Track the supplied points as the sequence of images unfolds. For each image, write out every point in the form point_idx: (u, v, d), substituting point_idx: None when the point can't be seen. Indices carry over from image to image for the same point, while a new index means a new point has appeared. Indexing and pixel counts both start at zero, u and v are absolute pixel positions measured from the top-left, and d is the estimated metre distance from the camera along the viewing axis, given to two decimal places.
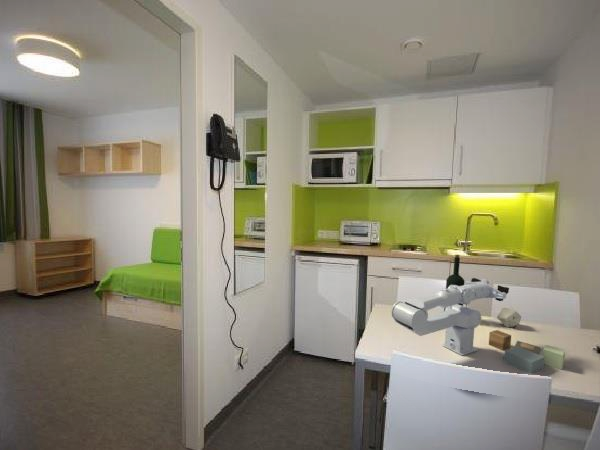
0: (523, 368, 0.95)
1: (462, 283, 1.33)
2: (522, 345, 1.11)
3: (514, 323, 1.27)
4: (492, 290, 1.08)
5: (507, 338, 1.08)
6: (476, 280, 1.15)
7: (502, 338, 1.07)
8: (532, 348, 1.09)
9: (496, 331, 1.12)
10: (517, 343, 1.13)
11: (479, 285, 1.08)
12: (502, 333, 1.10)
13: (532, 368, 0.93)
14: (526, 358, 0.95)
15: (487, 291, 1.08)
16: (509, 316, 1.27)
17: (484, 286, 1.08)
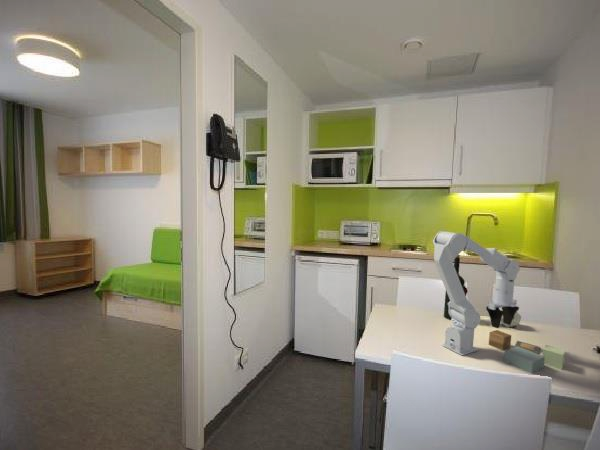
0: (523, 368, 0.95)
1: (462, 283, 1.33)
2: (522, 345, 1.11)
3: (514, 323, 1.27)
4: None
5: (507, 338, 1.08)
6: (515, 307, 1.09)
7: (502, 338, 1.07)
8: (532, 348, 1.09)
9: (496, 331, 1.12)
10: (517, 343, 1.13)
11: (509, 292, 1.06)
12: (502, 333, 1.10)
13: (532, 368, 0.93)
14: (526, 358, 0.95)
15: (500, 298, 1.07)
16: None
17: (507, 297, 1.06)
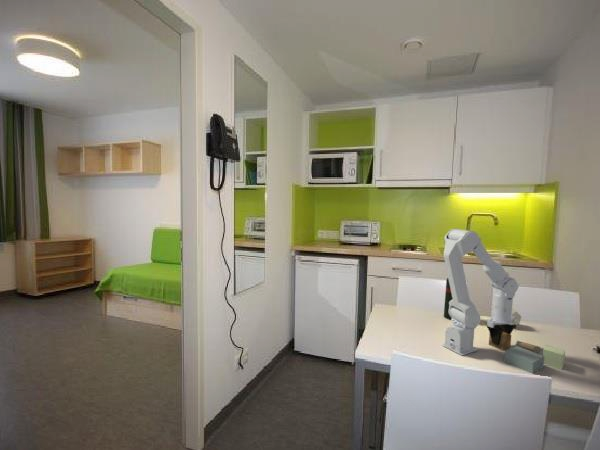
0: (524, 368, 0.94)
1: None
2: (522, 345, 1.11)
3: (514, 323, 1.27)
4: None
5: (507, 337, 1.08)
6: (513, 324, 1.10)
7: (502, 338, 1.07)
8: (532, 348, 1.09)
9: None
10: (517, 343, 1.13)
11: (508, 310, 1.07)
12: (502, 333, 1.10)
13: (533, 368, 0.93)
14: (527, 358, 0.95)
15: (499, 316, 1.08)
16: None
17: (506, 315, 1.07)
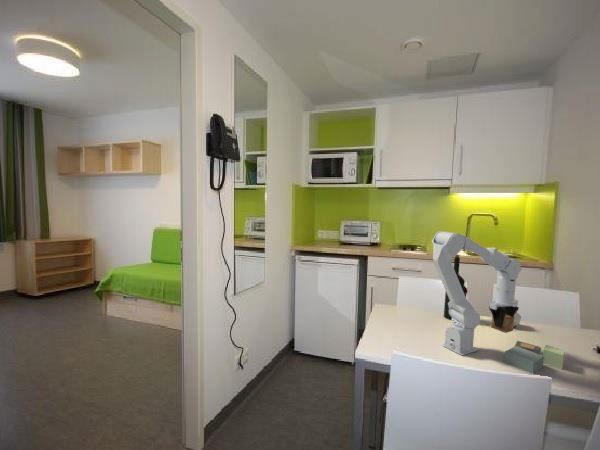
0: (524, 368, 0.94)
1: (462, 283, 1.33)
2: (522, 345, 1.11)
3: (514, 323, 1.27)
4: None
5: (510, 320, 1.07)
6: (516, 307, 1.09)
7: (505, 320, 1.06)
8: (532, 348, 1.09)
9: None
10: (517, 343, 1.13)
11: (511, 292, 1.05)
12: None
13: (533, 368, 0.93)
14: (527, 358, 0.95)
15: (502, 298, 1.07)
16: None
17: (509, 297, 1.06)
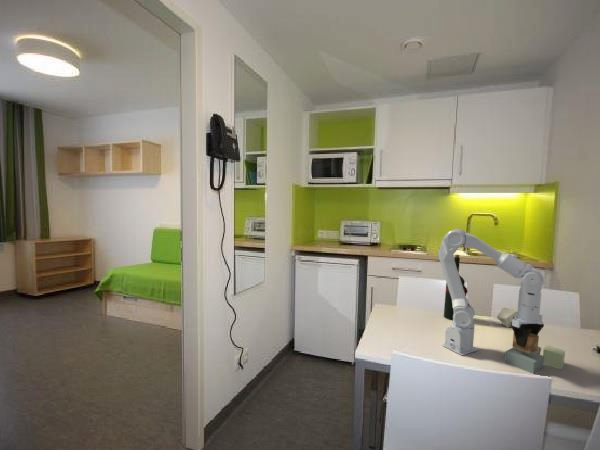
0: (525, 368, 0.94)
1: (462, 283, 1.33)
2: None
3: None
4: None
5: (534, 339, 0.95)
6: (541, 324, 0.97)
7: (529, 339, 0.94)
8: None
9: None
10: None
11: (536, 308, 0.94)
12: None
13: (534, 368, 0.93)
14: (527, 358, 0.95)
15: (525, 314, 0.95)
16: (509, 316, 1.27)
17: (533, 313, 0.94)
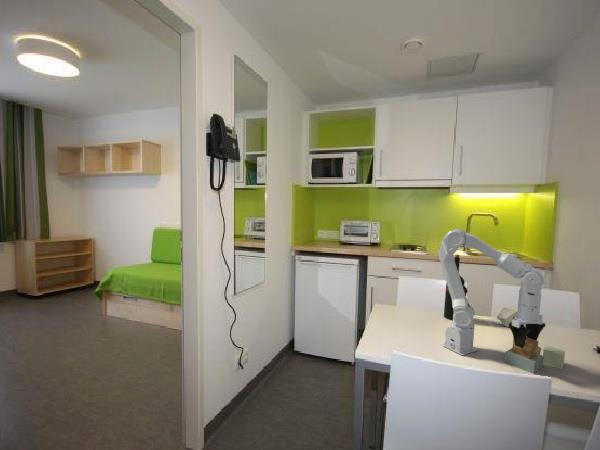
0: (525, 369, 0.94)
1: (462, 283, 1.33)
2: None
3: None
4: None
5: (534, 344, 0.95)
6: (541, 324, 0.97)
7: (529, 345, 0.94)
8: None
9: None
10: None
11: (536, 308, 0.94)
12: (527, 339, 0.97)
13: (534, 368, 0.93)
14: None
15: (525, 314, 0.95)
16: (509, 316, 1.27)
17: (533, 313, 0.94)
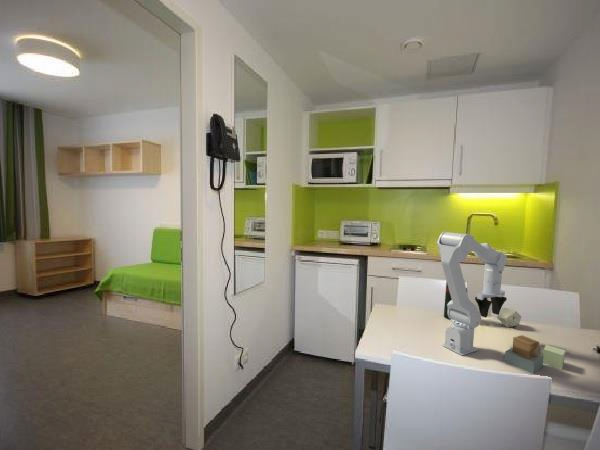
0: (525, 368, 0.94)
1: None
2: None
3: (514, 323, 1.27)
4: (488, 294, 1.12)
5: (534, 344, 0.95)
6: (503, 298, 1.14)
7: (528, 345, 0.94)
8: None
9: (521, 336, 0.99)
10: None
11: (497, 283, 1.11)
12: (528, 339, 0.97)
13: (534, 368, 0.93)
14: None
15: (488, 289, 1.13)
16: (509, 316, 1.27)
17: (495, 288, 1.11)
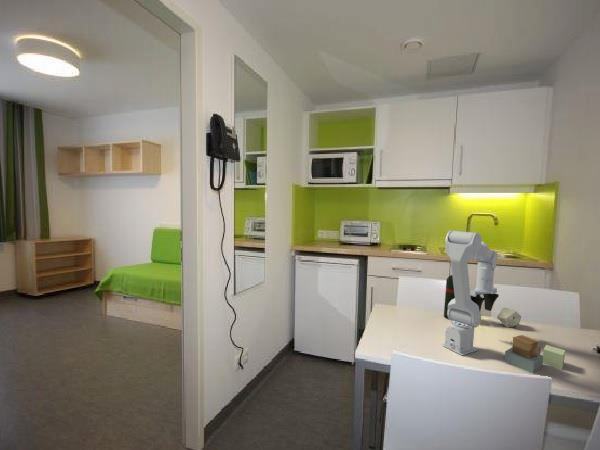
0: (524, 368, 0.95)
1: None
2: None
3: (514, 323, 1.27)
4: (481, 291, 1.16)
5: (533, 344, 0.95)
6: (495, 294, 1.19)
7: (528, 345, 0.95)
8: None
9: (521, 336, 0.99)
10: None
11: (489, 281, 1.15)
12: (527, 339, 0.97)
13: (533, 367, 0.93)
14: (527, 358, 0.95)
15: (481, 286, 1.17)
16: (509, 316, 1.27)
17: (487, 285, 1.16)
